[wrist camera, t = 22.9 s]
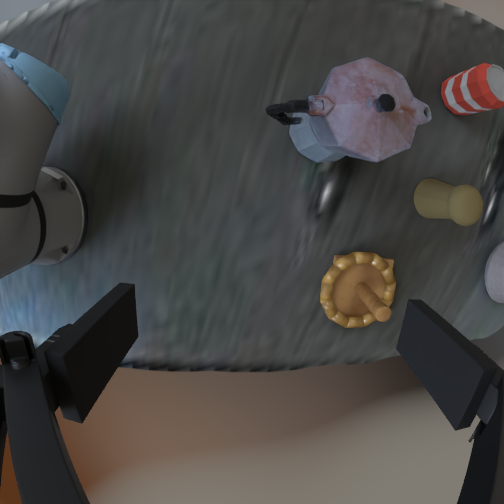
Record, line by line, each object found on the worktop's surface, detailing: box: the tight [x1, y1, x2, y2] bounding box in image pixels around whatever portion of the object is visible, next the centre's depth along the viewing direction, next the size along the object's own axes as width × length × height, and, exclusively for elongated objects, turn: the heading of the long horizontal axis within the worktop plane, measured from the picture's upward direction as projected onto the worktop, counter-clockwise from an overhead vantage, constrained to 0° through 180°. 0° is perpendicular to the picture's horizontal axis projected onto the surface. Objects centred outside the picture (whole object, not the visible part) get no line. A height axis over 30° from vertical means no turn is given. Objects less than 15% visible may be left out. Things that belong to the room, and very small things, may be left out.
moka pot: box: [266, 57, 431, 163], centre depth 31 cm, size 10×15×20 cm, turn 98°
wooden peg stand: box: [326, 255, 394, 322], centre depth 40 cm, size 9×9×10 cm
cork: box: [414, 179, 483, 226], centre depth 37 cm, size 6×6×11 cm
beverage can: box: [441, 63, 504, 115], centre depth 32 cm, size 6×6×12 cm
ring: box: [320, 252, 396, 328], centre depth 43 cm, size 11×11×2 cm
